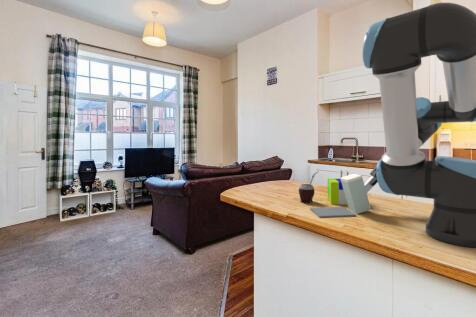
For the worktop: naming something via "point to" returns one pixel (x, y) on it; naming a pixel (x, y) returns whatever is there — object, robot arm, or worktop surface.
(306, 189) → the mate gourd
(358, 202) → the sage block
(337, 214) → the rubber mat
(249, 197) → the worktop surface
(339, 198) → the puzzle toy
